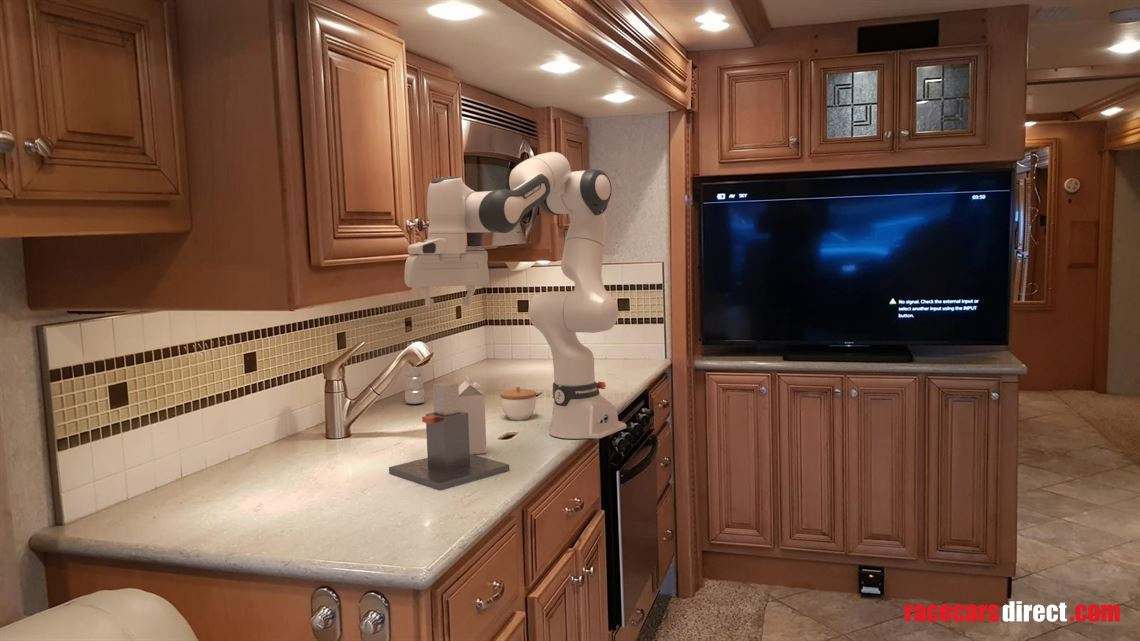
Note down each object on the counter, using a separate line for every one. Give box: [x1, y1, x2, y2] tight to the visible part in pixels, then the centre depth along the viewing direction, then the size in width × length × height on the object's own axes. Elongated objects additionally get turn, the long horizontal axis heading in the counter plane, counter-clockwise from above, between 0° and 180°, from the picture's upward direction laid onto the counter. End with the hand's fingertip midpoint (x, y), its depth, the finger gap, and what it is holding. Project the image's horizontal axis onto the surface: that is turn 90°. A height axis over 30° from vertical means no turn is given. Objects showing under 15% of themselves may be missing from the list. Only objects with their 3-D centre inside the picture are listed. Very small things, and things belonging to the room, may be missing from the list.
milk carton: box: [459, 375, 488, 455], centre depth 222 cm, size 7×7×19 cm
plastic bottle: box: [404, 342, 426, 405], centre depth 284 cm, size 6×7×20 cm
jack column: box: [432, 381, 460, 417], centre depth 204 cm, size 4×4×18 cm
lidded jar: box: [499, 386, 537, 421], centre depth 261 cm, size 11×11×9 cm
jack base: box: [388, 411, 510, 491], centre depth 204 cm, size 20×20×14 cm
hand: (448, 305), depth 204 cm, fingers open, 8 cm apart
